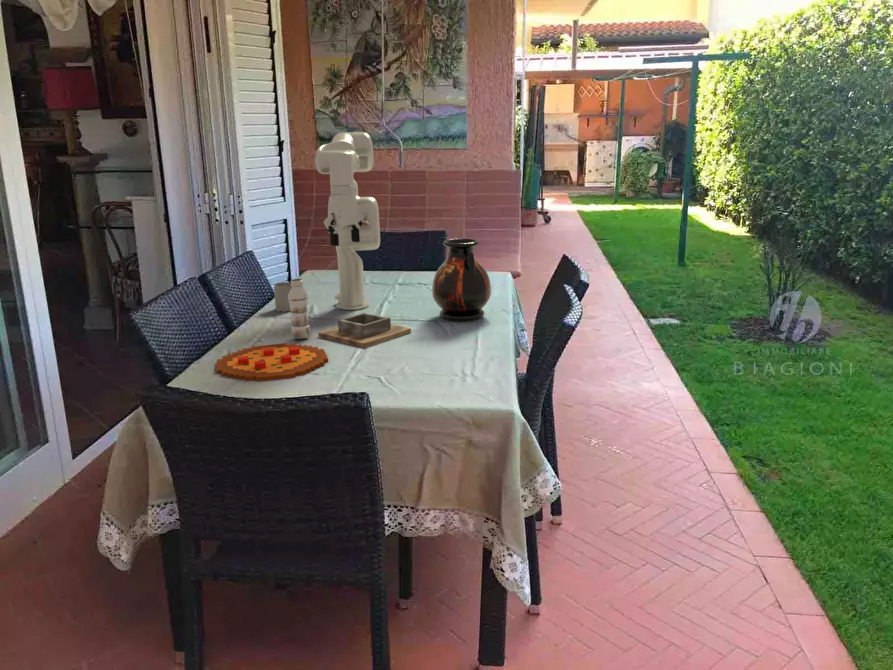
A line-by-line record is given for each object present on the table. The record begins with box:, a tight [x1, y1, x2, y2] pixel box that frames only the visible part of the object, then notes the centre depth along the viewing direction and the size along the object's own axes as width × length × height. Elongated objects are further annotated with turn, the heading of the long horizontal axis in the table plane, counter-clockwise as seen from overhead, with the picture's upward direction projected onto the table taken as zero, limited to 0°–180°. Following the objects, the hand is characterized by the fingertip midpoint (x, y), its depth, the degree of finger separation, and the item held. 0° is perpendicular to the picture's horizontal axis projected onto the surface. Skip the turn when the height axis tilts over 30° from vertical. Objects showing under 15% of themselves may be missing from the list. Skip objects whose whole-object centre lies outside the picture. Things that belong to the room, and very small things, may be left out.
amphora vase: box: [431, 238, 492, 322], centre depth 264 cm, size 22×22×28 cm
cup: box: [273, 281, 292, 313], centre depth 282 cm, size 8×8×10 cm
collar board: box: [317, 312, 412, 349], centre depth 246 cm, size 22×22×6 cm
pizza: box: [216, 342, 329, 382], centre depth 219 cm, size 32×32×3 cm
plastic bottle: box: [288, 278, 312, 340], centre depth 240 cm, size 6×7×20 cm
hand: (345, 243), depth 240 cm, fingers open, 9 cm apart
